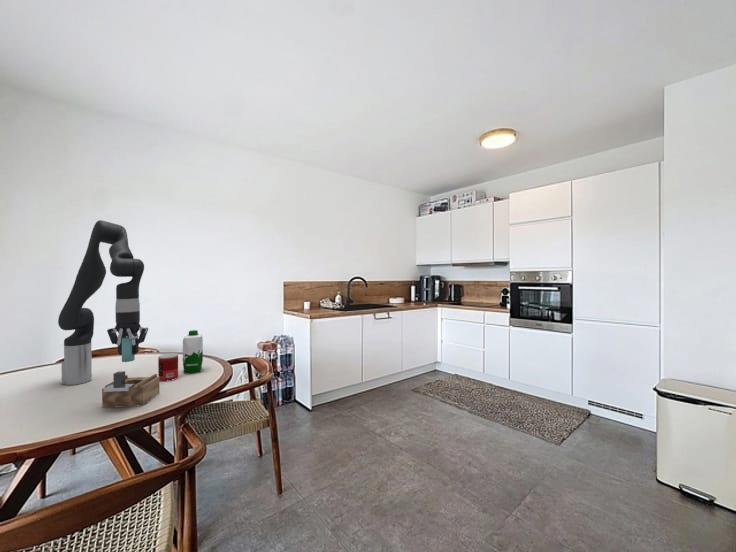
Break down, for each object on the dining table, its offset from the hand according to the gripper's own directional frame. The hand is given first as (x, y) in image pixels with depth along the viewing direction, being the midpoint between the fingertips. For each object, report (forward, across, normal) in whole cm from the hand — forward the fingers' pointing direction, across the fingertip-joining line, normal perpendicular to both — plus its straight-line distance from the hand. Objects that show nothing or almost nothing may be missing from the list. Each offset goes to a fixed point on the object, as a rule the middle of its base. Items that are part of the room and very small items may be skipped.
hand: (128, 354), depth 124 cm
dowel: (+2, 0, 0) cm, 2 cm away
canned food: (+19, -2, -26) cm, 32 cm away
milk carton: (+19, -9, -36) cm, 42 cm away
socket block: (+18, -1, -1) cm, 18 cm away
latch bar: (+11, -1, +7) cm, 13 cm away
